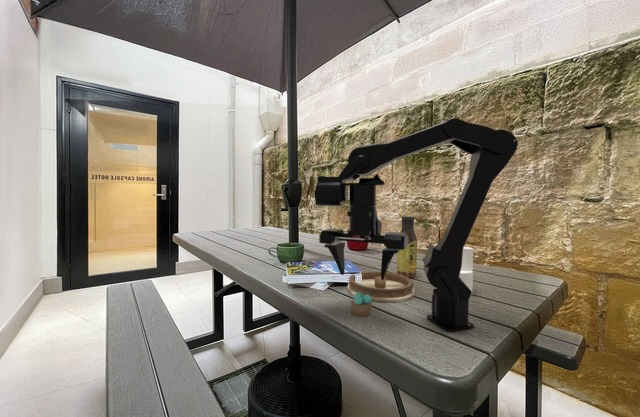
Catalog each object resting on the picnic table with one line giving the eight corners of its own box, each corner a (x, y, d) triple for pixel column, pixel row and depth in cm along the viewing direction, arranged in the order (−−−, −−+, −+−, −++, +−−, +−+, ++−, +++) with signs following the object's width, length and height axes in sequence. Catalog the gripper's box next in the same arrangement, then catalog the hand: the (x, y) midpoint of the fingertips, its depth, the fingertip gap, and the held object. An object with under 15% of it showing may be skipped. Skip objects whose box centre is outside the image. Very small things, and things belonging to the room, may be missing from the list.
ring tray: (429, 297, 70) (429, 284, 70) (366, 306, 64) (366, 291, 64) (389, 278, 87) (390, 267, 87) (337, 283, 81) (337, 272, 81)
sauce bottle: (412, 279, 86) (413, 216, 85) (393, 276, 90) (394, 216, 89) (419, 275, 91) (420, 216, 90) (401, 272, 95) (401, 215, 94)
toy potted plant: (374, 316, 59) (375, 296, 59) (356, 318, 58) (356, 298, 58) (365, 308, 63) (365, 290, 63) (347, 310, 62) (348, 292, 62)
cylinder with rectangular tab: (463, 285, 80) (464, 245, 80) (478, 296, 71) (479, 251, 71) (432, 284, 81) (433, 244, 81) (442, 295, 72) (443, 250, 72)
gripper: (412, 206, 63) (411, 273, 63) (337, 205, 71) (337, 264, 72) (404, 207, 53) (403, 287, 53) (318, 206, 61) (318, 275, 62)
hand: (362, 277), depth 60 cm, fingers open, 9 cm apart
